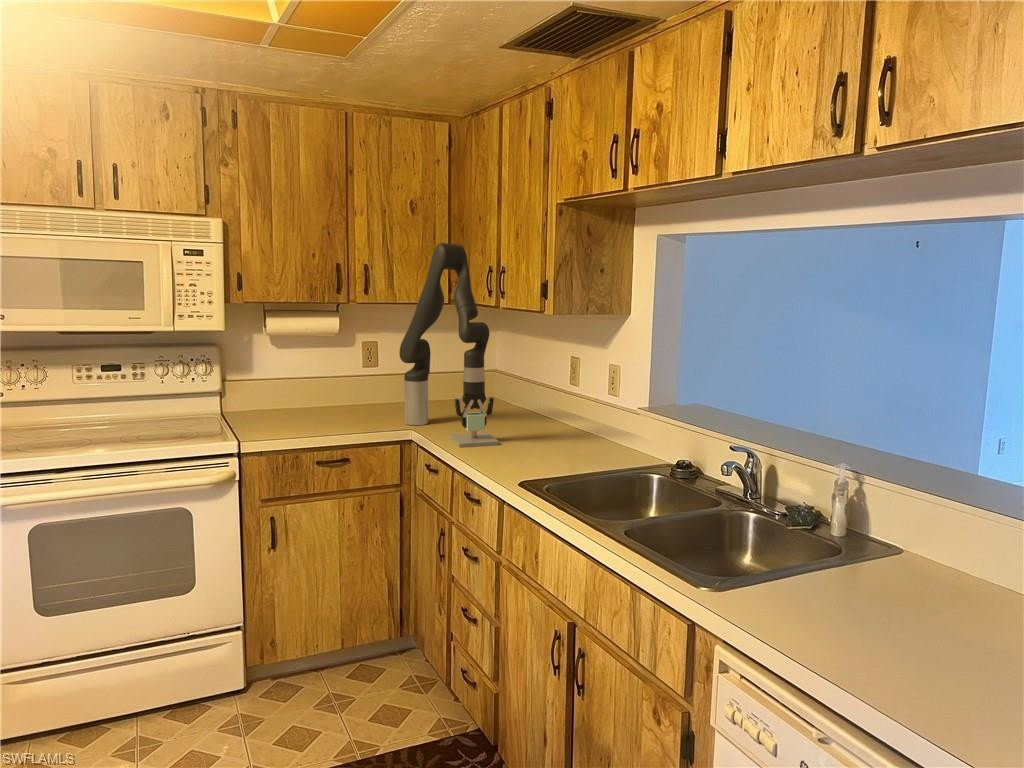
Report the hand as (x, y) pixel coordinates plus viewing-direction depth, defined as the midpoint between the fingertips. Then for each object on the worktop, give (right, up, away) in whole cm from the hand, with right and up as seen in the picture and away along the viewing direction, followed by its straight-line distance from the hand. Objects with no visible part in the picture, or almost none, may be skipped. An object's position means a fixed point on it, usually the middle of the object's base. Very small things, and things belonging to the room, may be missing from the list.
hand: (474, 426), depth 259 cm
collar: (0, -1, 0) cm, 1 cm away
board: (0, -5, +1) cm, 5 cm away
